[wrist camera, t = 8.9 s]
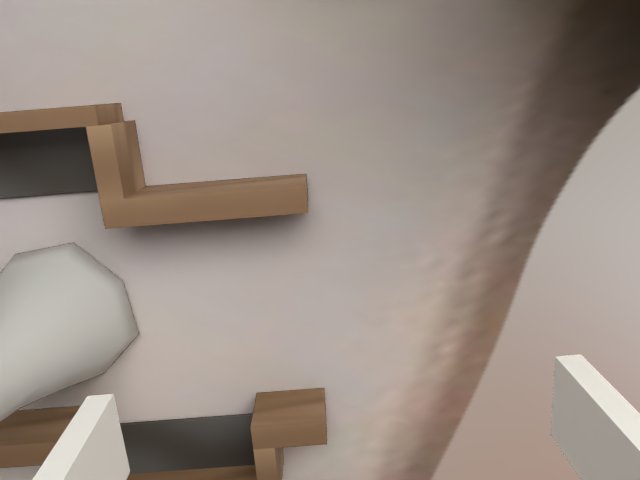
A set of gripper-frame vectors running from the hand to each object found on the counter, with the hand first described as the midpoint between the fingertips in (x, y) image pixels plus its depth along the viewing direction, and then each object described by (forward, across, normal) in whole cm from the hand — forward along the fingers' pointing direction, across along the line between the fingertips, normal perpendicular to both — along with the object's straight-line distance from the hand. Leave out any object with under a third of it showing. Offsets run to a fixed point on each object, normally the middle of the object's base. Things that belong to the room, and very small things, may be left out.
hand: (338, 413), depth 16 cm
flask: (+11, -13, -1) cm, 17 cm away
